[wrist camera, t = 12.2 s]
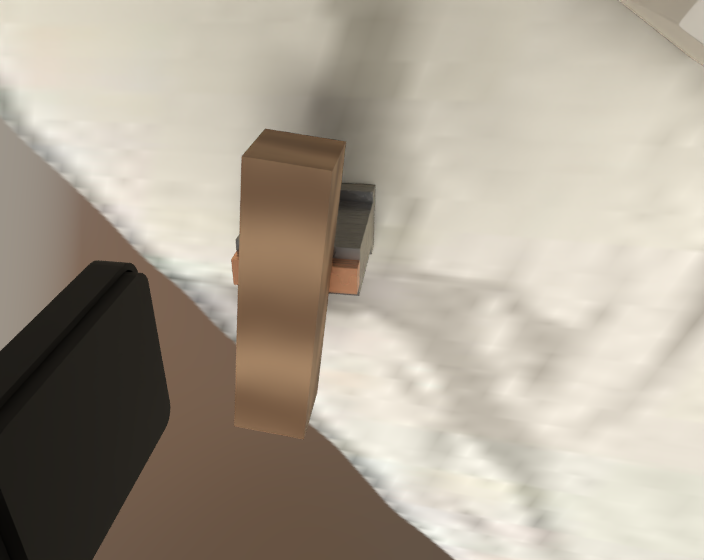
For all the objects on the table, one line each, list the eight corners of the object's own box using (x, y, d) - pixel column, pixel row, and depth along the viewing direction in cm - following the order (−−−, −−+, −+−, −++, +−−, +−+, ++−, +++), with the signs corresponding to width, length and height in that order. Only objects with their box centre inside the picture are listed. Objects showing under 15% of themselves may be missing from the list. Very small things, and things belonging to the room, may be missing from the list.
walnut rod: (265, 128, 31) (241, 156, 28) (345, 141, 31) (332, 170, 27) (253, 380, 39) (234, 426, 36) (317, 392, 39) (304, 439, 36)
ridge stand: (268, 178, 42) (228, 236, 34) (375, 184, 41) (357, 245, 33) (272, 238, 44) (235, 305, 36) (373, 246, 43) (356, 315, 36)
